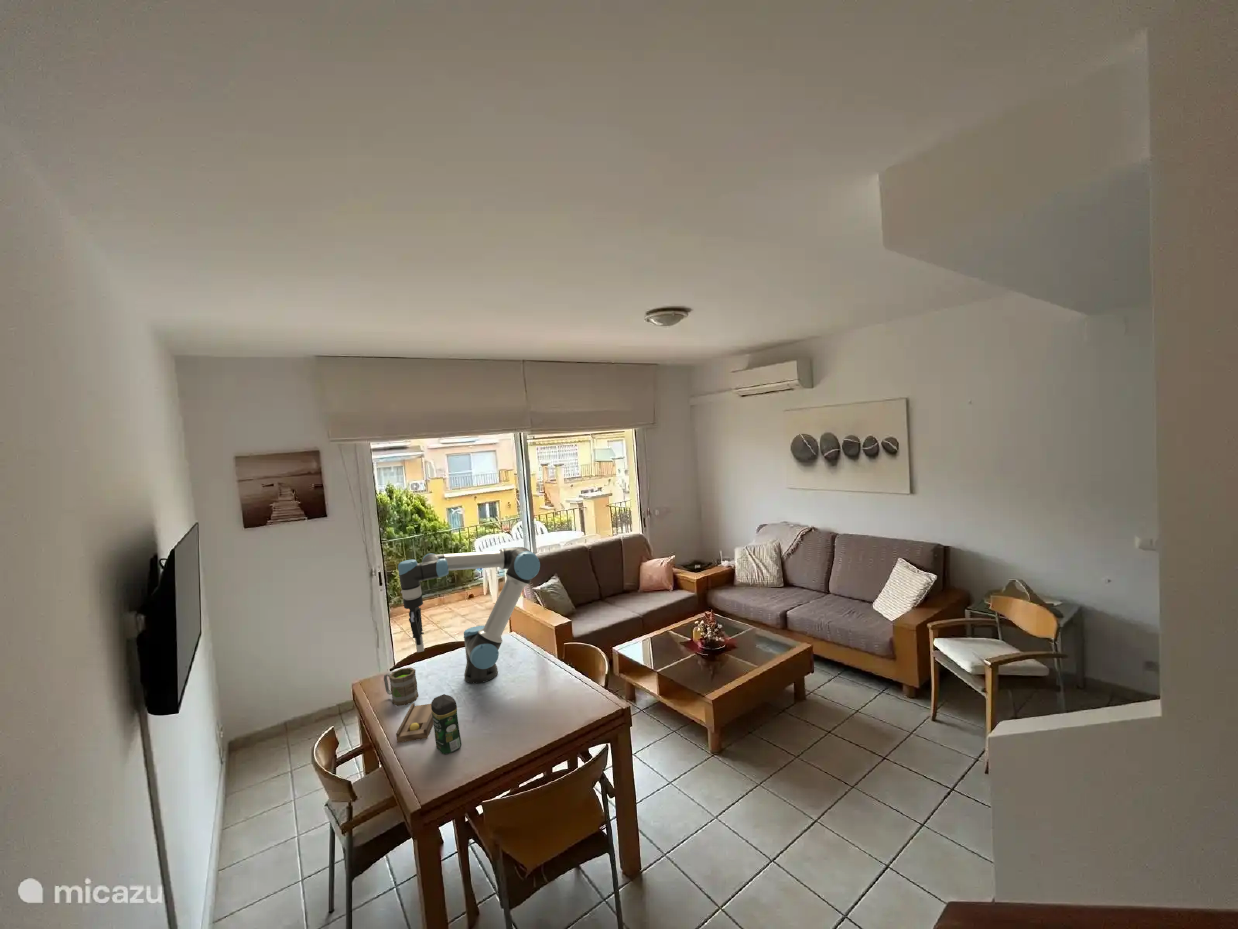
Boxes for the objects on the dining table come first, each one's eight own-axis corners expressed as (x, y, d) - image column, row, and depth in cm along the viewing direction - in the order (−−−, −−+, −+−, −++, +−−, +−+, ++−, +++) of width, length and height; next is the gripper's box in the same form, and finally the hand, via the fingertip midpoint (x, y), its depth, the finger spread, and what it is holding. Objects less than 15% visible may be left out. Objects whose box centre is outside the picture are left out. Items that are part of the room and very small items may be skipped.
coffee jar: (433, 747, 192) (427, 698, 190) (453, 737, 197) (448, 689, 195) (443, 758, 184) (437, 707, 183) (464, 748, 189) (458, 698, 188)
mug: (424, 694, 232) (420, 668, 232) (406, 707, 222) (403, 680, 221) (395, 691, 238) (392, 665, 237) (377, 704, 227) (374, 677, 227)
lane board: (440, 708, 219) (439, 699, 219) (427, 738, 197) (426, 729, 197) (413, 711, 218) (412, 703, 218) (397, 743, 196) (395, 734, 196)
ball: (420, 729, 204) (420, 720, 204) (418, 734, 201) (417, 725, 201) (411, 730, 204) (410, 721, 204) (408, 735, 200) (408, 726, 200)
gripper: (406, 593, 225) (414, 646, 227) (399, 603, 212) (408, 659, 214) (424, 590, 226) (432, 643, 228) (418, 600, 214) (427, 655, 216)
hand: (420, 651), depth 221 cm, fingers closed
